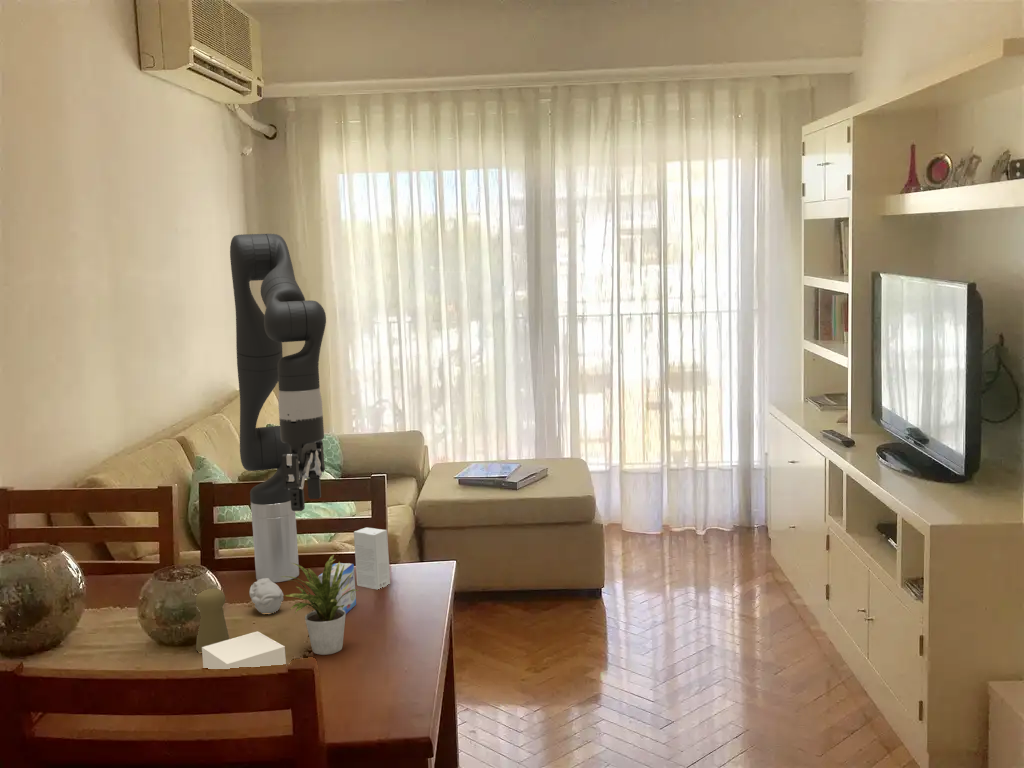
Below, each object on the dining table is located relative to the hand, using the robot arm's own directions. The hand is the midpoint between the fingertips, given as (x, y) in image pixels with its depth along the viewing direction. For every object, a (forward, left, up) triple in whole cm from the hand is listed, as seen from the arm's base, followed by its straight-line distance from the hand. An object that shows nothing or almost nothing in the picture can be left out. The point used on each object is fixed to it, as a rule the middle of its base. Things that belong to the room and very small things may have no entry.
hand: (306, 504), depth 169 cm
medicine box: (-10, +10, -25) cm, 29 cm away
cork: (-8, -16, -25) cm, 31 cm away
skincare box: (-19, +23, -25) cm, 40 cm away
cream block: (+6, -16, -25) cm, 30 cm away
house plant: (+4, 0, -25) cm, 26 cm away
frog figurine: (-19, -1, -25) cm, 32 cm away
